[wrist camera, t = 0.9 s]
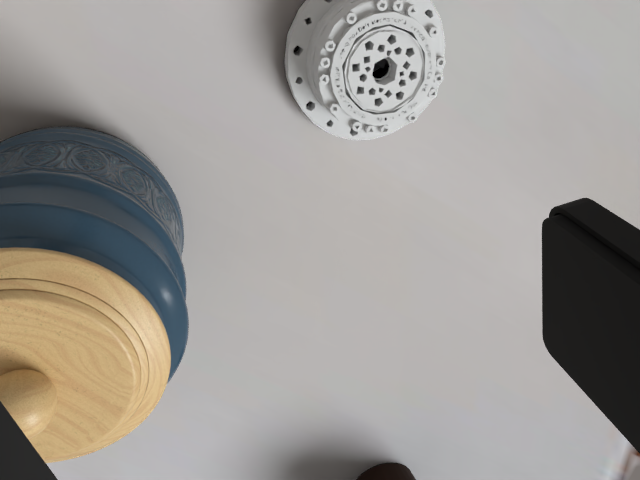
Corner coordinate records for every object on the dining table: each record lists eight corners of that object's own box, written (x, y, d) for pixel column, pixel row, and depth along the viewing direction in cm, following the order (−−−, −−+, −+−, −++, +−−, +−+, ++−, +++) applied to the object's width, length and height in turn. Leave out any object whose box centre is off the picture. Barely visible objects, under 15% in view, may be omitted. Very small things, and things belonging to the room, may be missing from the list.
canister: (-93, 187, 32) (-319, 407, 17) (104, 80, 32) (49, 208, 17) (55, 336, 39) (-15, 588, 24) (219, 248, 39) (252, 447, 24)
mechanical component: (296, -47, 32) (272, 125, 36) (313, -44, 28) (285, 148, 32) (454, -16, 34) (414, 140, 39) (489, -9, 31) (441, 163, 35)
